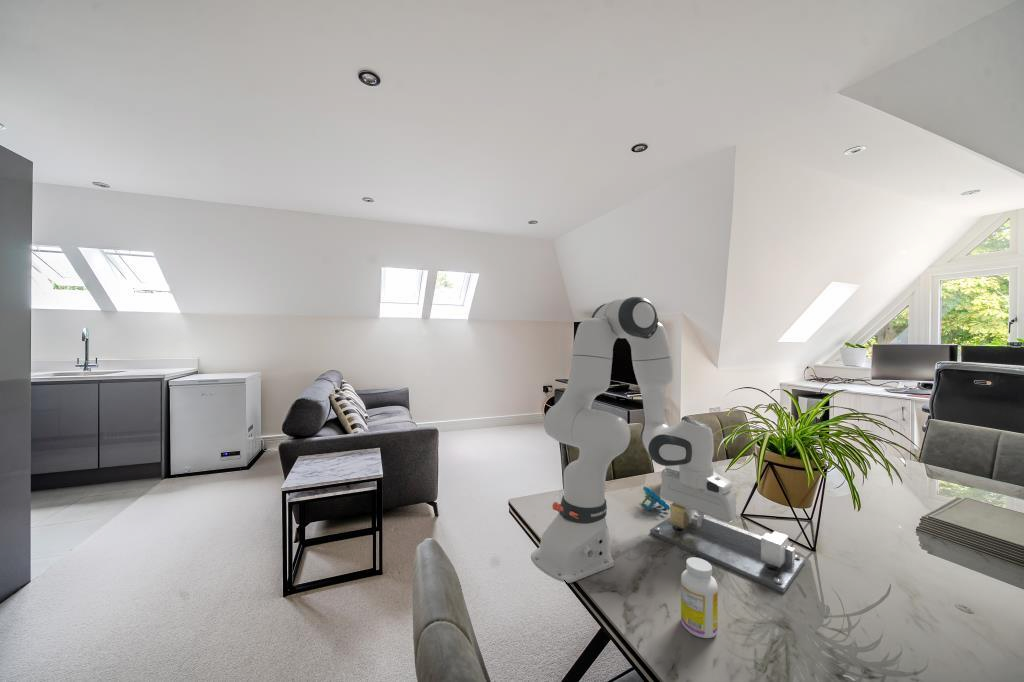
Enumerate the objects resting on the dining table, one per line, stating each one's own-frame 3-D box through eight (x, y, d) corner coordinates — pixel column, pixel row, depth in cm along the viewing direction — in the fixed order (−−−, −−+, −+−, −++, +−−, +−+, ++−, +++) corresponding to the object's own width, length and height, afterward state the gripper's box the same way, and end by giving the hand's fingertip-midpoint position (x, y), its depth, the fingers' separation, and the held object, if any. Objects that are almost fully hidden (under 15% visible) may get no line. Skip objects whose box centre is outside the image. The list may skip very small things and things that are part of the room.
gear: (677, 510, 121) (655, 489, 121) (665, 525, 120) (643, 503, 120) (659, 500, 132) (639, 481, 132) (649, 513, 131) (628, 493, 131)
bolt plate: (783, 593, 85) (783, 585, 85) (650, 533, 110) (650, 527, 110) (804, 562, 96) (804, 556, 96) (679, 515, 122) (679, 509, 121)
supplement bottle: (705, 614, 78) (706, 553, 78) (724, 639, 72) (725, 574, 71) (674, 614, 78) (675, 554, 78) (690, 640, 71) (691, 574, 71)
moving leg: (683, 533, 107) (683, 508, 107) (670, 527, 110) (670, 503, 110) (696, 523, 113) (696, 500, 113) (683, 518, 116) (683, 495, 116)
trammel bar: (784, 577, 89) (785, 546, 88) (661, 525, 112) (662, 501, 112) (795, 563, 94) (795, 534, 94) (675, 516, 118) (675, 494, 118)
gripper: (656, 468, 112) (655, 514, 113) (729, 490, 97) (729, 543, 97) (666, 464, 116) (666, 507, 117) (738, 484, 101) (738, 535, 101)
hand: (695, 524), depth 107 cm, fingers closed
